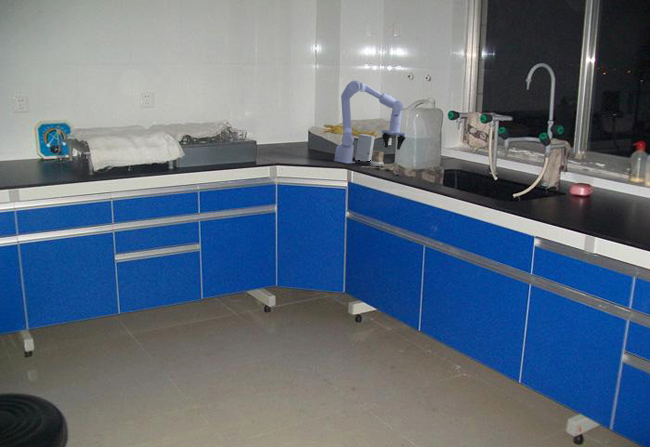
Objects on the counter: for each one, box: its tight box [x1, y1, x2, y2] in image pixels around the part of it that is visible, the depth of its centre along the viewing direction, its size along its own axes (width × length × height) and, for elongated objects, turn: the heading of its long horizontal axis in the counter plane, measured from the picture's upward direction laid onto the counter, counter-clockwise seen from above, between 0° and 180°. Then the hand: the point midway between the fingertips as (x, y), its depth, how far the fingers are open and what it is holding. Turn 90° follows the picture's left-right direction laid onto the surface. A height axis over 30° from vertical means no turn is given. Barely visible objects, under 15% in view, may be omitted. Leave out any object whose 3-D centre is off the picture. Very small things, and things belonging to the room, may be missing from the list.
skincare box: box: [355, 133, 376, 162], centre depth 387 cm, size 8×6×15 cm
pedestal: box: [370, 161, 384, 167], centre depth 372 cm, size 7×7×2 cm
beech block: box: [370, 150, 385, 162], centre depth 371 cm, size 4×4×6 cm
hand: (392, 148), depth 369 cm, fingers open, 7 cm apart
